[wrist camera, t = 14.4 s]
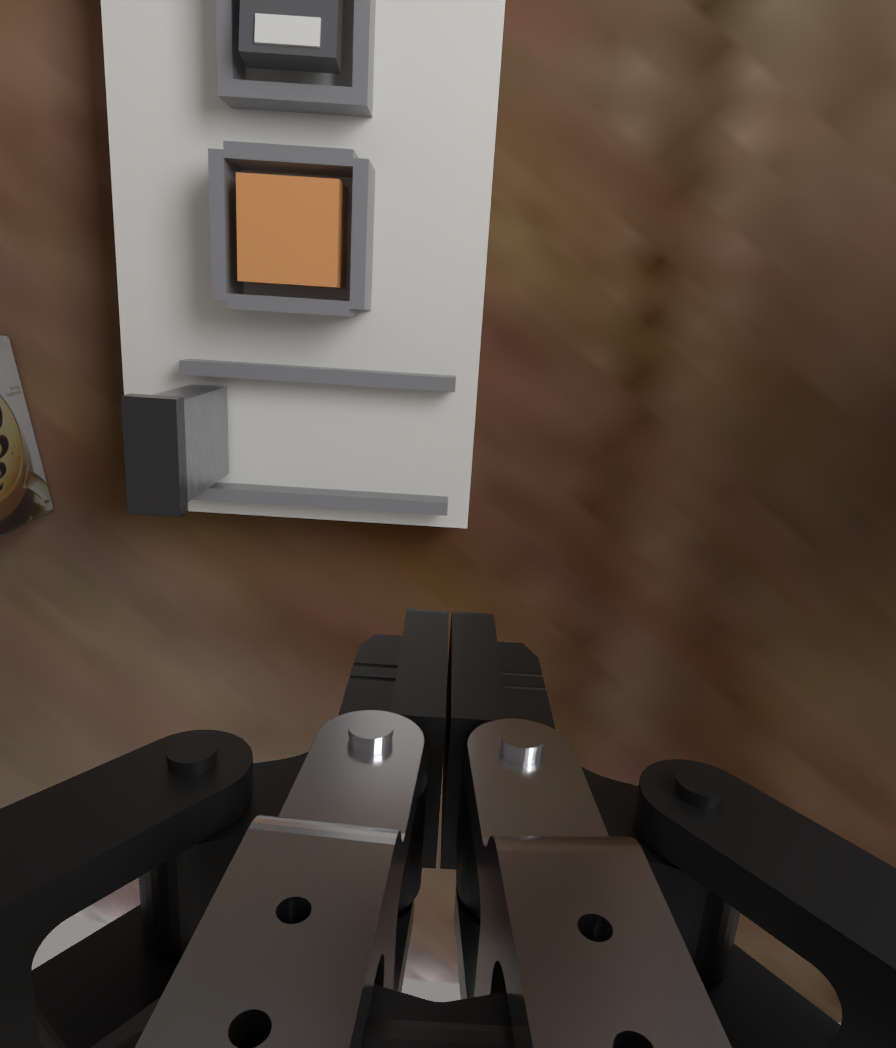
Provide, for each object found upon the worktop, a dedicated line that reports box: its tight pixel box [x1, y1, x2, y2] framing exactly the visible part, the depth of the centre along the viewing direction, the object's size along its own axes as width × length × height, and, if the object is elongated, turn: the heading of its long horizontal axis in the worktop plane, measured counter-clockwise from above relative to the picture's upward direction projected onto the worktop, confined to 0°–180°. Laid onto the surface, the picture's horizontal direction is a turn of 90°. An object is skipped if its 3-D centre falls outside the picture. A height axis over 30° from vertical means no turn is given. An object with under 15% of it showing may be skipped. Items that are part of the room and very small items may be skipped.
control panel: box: [101, 0, 505, 528], centre depth 32 cm, size 16×25×6 cm, turn 176°
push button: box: [236, 172, 348, 289], centre depth 30 cm, size 4×4×2 cm
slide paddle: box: [120, 384, 229, 517], centre depth 30 cm, size 2×4×7 cm, turn 176°
